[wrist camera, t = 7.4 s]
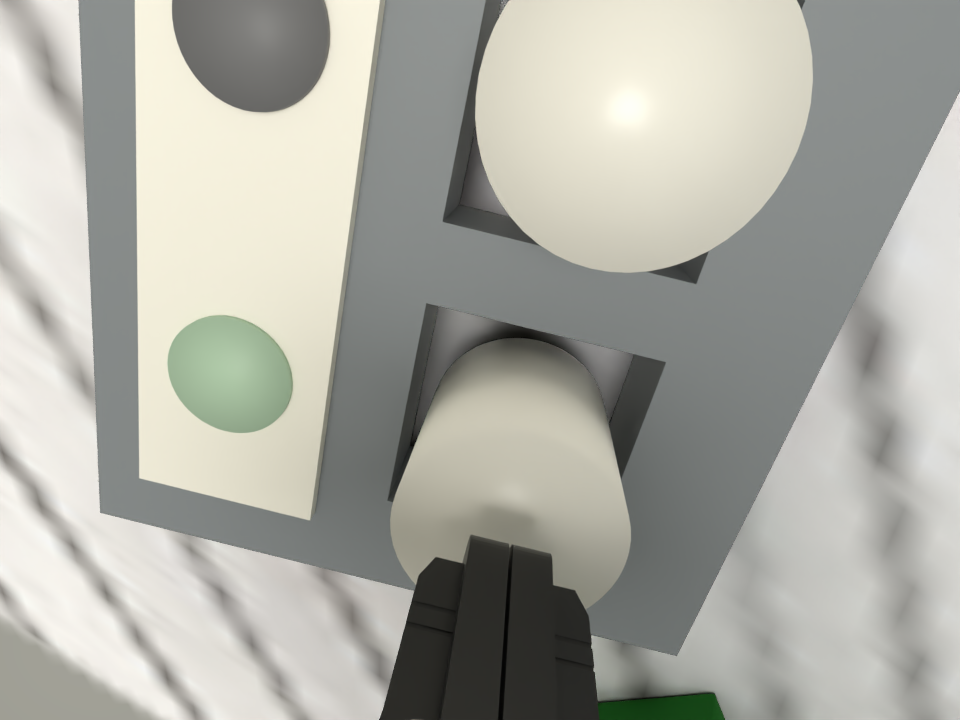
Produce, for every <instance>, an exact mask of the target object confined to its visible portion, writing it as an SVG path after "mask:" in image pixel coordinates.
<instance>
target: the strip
mask: <svg viewBox="0 0 960 720" xmlns="http://www.w3.org/2000/svg"><path fill="white" fill-rule="evenodd" d="M384 8H385V0H135V78H136V184H137V290H138V396H139V478H140V479H144V480H149V481H153V482H157V483H161V484H165V485H169V486H173V487H177V488H181V489H185V490H189V491H193V492H197V493H201V494H205V495H209V496H213V497H217V498H221V499H225V500H229V501H233V502H237V503H241V504H245V505H249V506H253V507H257V508H261V509H265V510H269V511H273V512H277V513H281V514H285V515H290V516H294V517H298V518H302V519H306V520H311V518H312V516H313V515H314V513H315V509H316V502H317V494H318V487H319V480H320V473H321V465H322V458H323V451H324V444H325V436H326V429H327V422H328V414H329V407H330V400H331V393H332V385H333V378H334V371H335V364H336V356H337V349H338V342H339V335H340V327H341V320H342V313H343V305H344V298H345V291H346V284H347V276H348V269H349V262H350V255H351V247H352V240H353V233H354V226H355V218H356V211H357V204H358V197H359V189H360V182H361V175H362V167H363V160H364V153H365V146H366V138H367V131H368V124H369V117H370V109H371V102H372V95H373V88H374V80H375V73H376V66H377V58H378V51H379V44H380V37H381V29H382V22H383V15H384Z"/></svg>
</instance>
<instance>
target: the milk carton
mask: <svg viewBox="0 0 960 720" xmlns="http://www.w3.org/2000/svg"><path fill="white" fill-rule="evenodd" d="M598 711H599V720H725V718H724V716H723V713H722V711H721V708H720V706H719V703H718V701H717V698H716V696H715V694H700V695H688V696H676V697H664V698H652V699H640V700H628V701H616V702H604V703H598Z"/></svg>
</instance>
